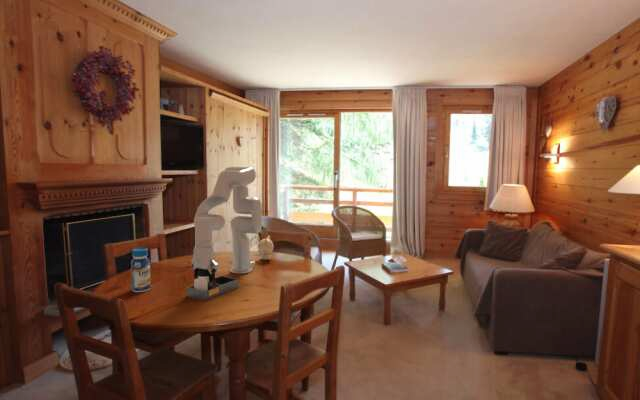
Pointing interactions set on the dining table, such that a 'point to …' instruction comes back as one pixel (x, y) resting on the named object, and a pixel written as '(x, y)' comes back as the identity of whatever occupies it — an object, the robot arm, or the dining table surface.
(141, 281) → the beverage bottle
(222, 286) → the rack
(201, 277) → the medicine bottle
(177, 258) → the dining table surface
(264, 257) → the kitten
